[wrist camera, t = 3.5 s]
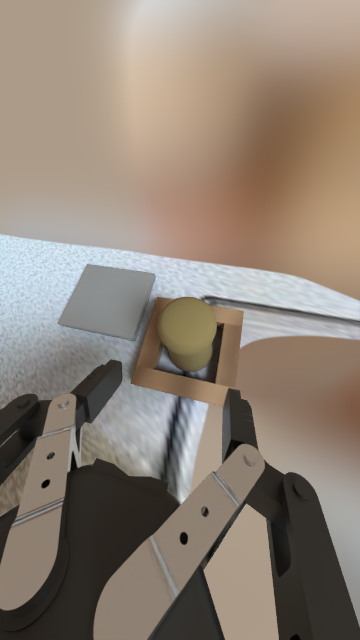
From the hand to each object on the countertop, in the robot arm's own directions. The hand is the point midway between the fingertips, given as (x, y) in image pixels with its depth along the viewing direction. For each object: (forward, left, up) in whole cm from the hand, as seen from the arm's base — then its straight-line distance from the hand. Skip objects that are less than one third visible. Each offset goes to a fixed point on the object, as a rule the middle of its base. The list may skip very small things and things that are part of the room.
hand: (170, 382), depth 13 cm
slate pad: (-14, +10, -10) cm, 20 cm away
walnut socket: (0, +5, -10) cm, 11 cm away
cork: (0, +5, -11) cm, 12 cm away
